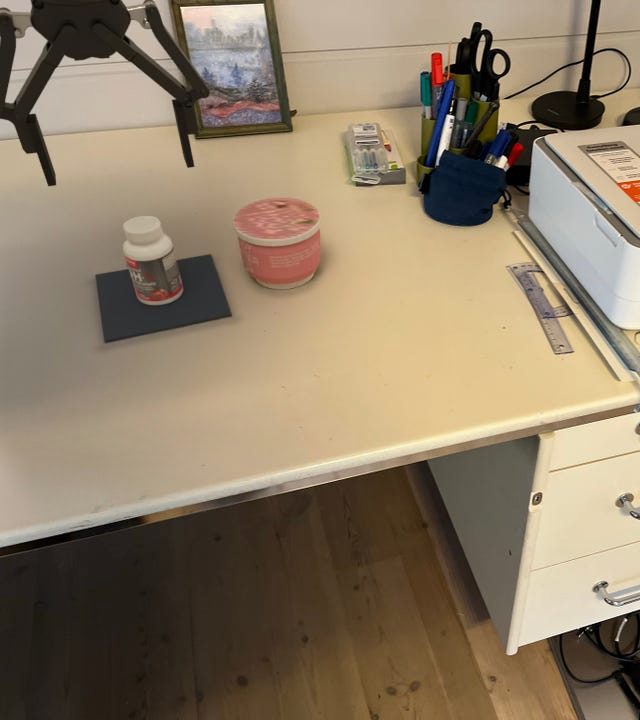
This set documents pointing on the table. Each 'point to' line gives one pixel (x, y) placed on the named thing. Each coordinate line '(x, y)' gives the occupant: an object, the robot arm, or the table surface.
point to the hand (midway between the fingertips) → (122, 171)
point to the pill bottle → (151, 261)
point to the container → (279, 241)
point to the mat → (136, 318)
